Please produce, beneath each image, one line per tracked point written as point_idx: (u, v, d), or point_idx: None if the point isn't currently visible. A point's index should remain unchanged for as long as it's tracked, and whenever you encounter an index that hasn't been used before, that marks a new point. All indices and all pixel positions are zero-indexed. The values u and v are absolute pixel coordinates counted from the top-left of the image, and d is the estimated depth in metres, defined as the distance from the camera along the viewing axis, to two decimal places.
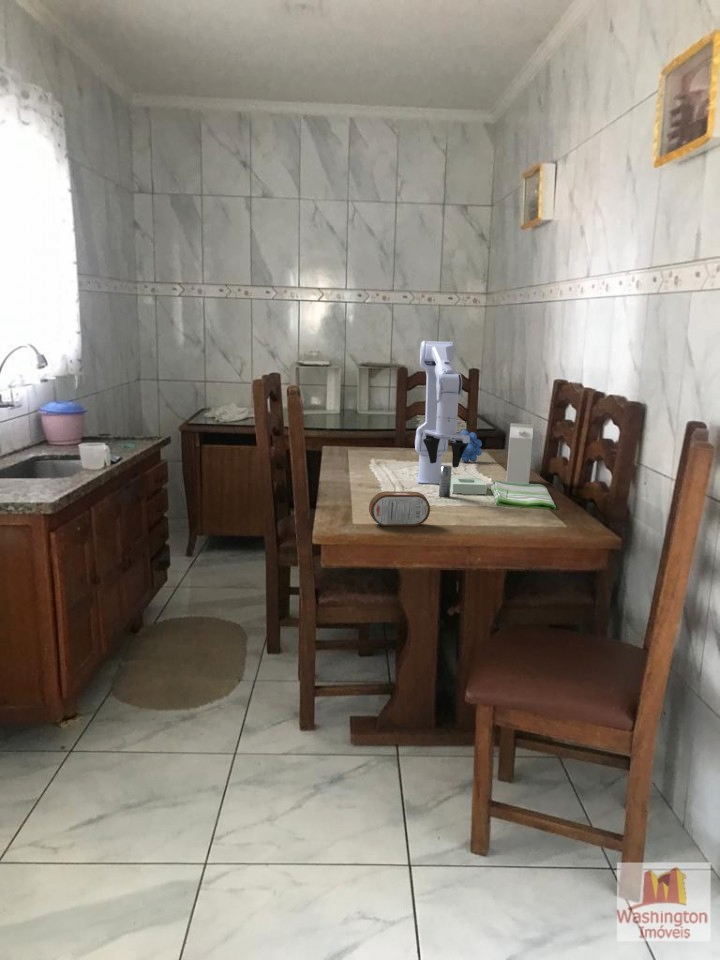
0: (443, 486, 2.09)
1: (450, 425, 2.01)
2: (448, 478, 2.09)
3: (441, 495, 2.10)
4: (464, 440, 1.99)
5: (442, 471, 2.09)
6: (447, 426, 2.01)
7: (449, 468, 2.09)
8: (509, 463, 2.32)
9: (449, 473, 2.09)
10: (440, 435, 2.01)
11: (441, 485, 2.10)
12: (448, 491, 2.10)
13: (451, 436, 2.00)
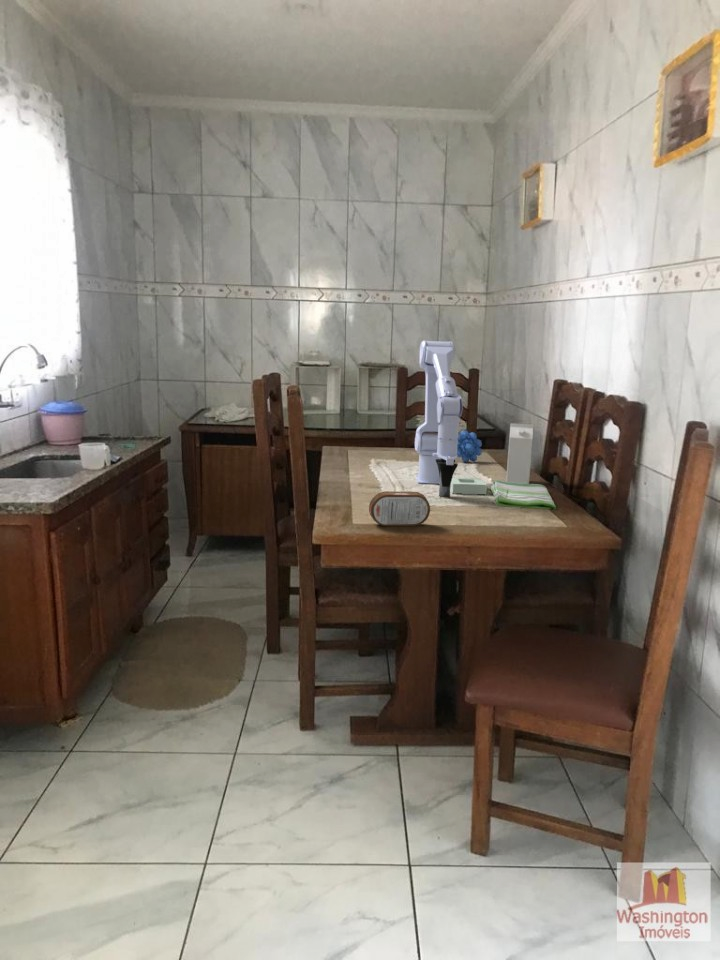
0: None
1: (443, 446, 2.06)
2: None
3: (441, 495, 2.10)
4: (446, 462, 2.03)
5: None
6: (440, 447, 2.07)
7: None
8: (509, 463, 2.32)
9: None
10: (433, 455, 2.08)
11: (441, 485, 2.10)
12: (448, 491, 2.10)
13: (441, 457, 2.06)
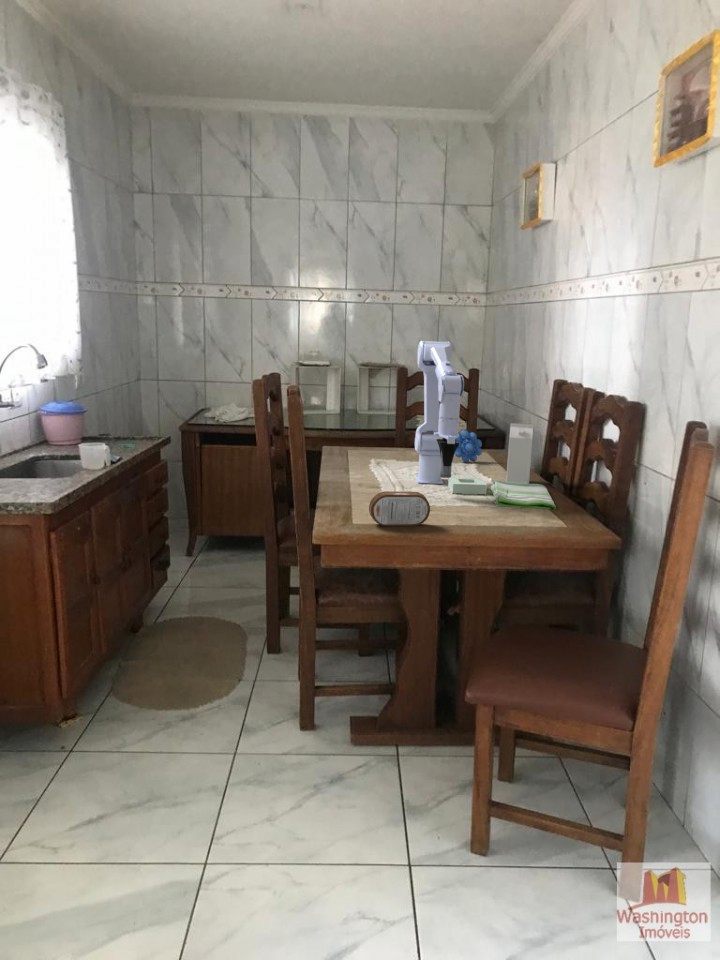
0: (444, 466, 2.08)
1: (444, 425, 2.05)
2: None
3: (442, 475, 2.09)
4: (447, 440, 2.01)
5: None
6: (441, 426, 2.06)
7: None
8: (509, 463, 2.32)
9: None
10: (434, 434, 2.07)
11: (442, 465, 2.09)
12: (449, 471, 2.09)
13: (442, 436, 2.05)
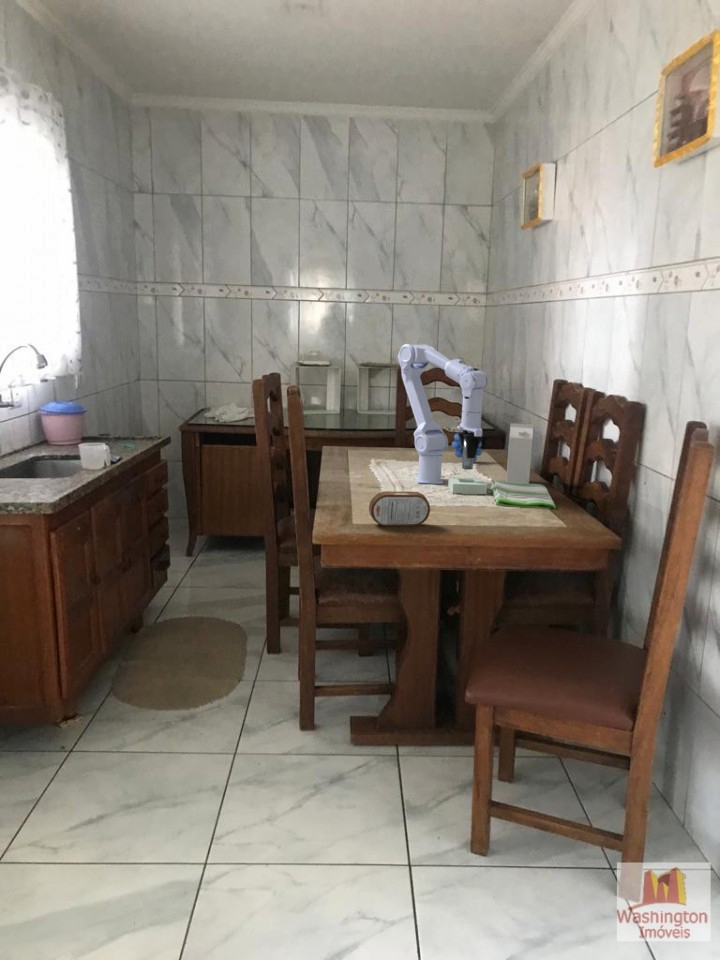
0: (468, 458, 2.17)
1: (468, 419, 2.14)
2: None
3: (466, 467, 2.18)
4: (475, 433, 2.10)
5: None
6: (466, 420, 2.14)
7: None
8: (509, 463, 2.32)
9: None
10: (459, 427, 2.15)
11: (466, 457, 2.17)
12: (472, 463, 2.18)
13: (467, 429, 2.13)
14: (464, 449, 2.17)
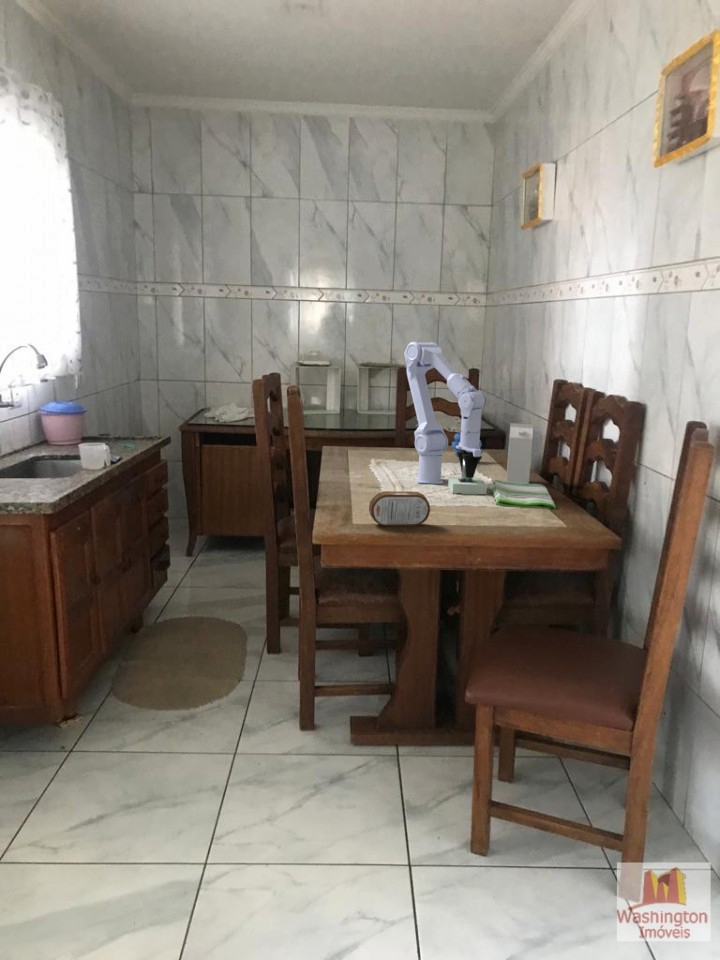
0: (467, 478, 2.18)
1: (467, 439, 2.15)
2: None
3: None
4: (473, 454, 2.11)
5: None
6: (465, 440, 2.15)
7: None
8: (509, 463, 2.32)
9: None
10: (458, 447, 2.16)
11: (465, 477, 2.18)
12: (471, 482, 2.19)
13: (466, 449, 2.14)
14: (463, 469, 2.18)
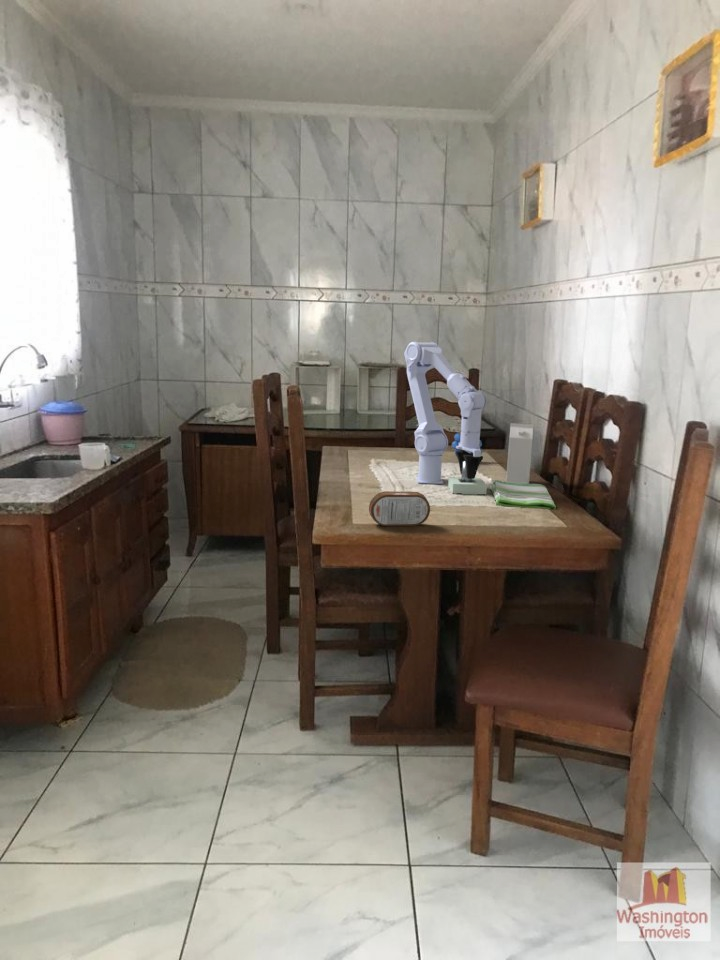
0: (467, 481, 2.18)
1: (467, 439, 2.15)
2: None
3: None
4: (473, 454, 2.11)
5: None
6: (465, 440, 2.15)
7: None
8: (509, 463, 2.32)
9: None
10: (458, 447, 2.16)
11: (464, 480, 2.19)
12: None
13: (466, 449, 2.14)
14: (463, 471, 2.19)
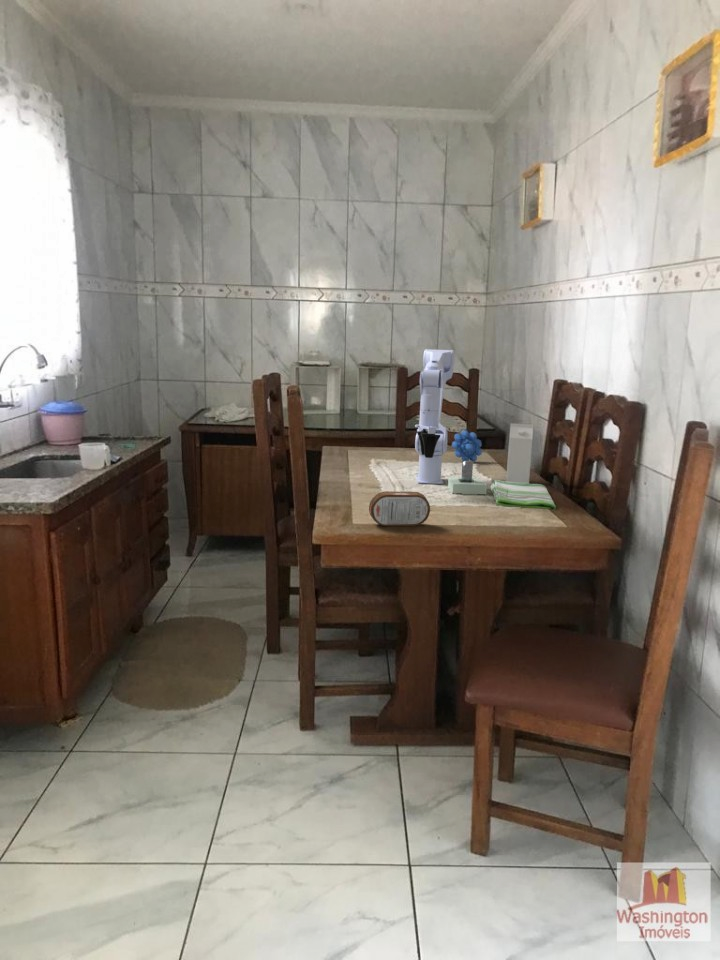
0: (467, 481, 2.18)
1: (425, 417, 2.13)
2: (471, 473, 2.18)
3: None
4: (428, 431, 2.09)
5: (466, 466, 2.18)
6: (422, 418, 2.13)
7: (472, 463, 2.18)
8: (509, 463, 2.32)
9: (472, 468, 2.18)
10: (416, 426, 2.15)
11: (464, 480, 2.19)
12: None
13: (423, 427, 2.12)
14: (463, 471, 2.19)
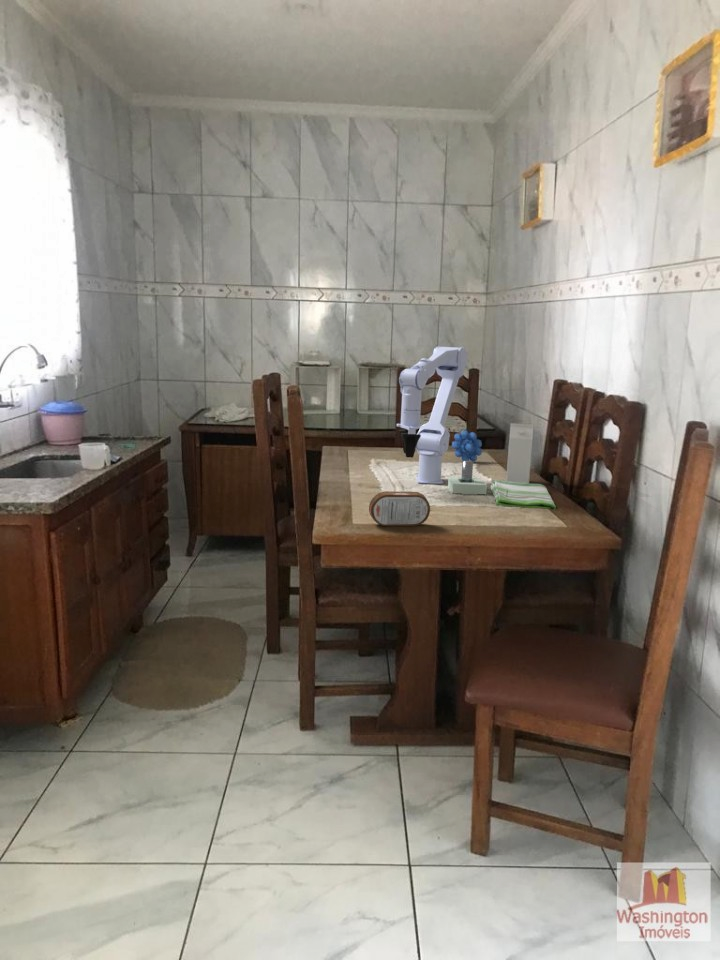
0: (467, 481, 2.18)
1: (406, 417, 2.13)
2: (471, 473, 2.18)
3: None
4: (408, 431, 2.09)
5: (466, 466, 2.18)
6: (403, 418, 2.14)
7: (472, 463, 2.18)
8: (509, 463, 2.32)
9: (472, 468, 2.18)
10: (397, 425, 2.15)
11: (464, 480, 2.19)
12: None
13: (404, 427, 2.13)
14: (463, 471, 2.19)
